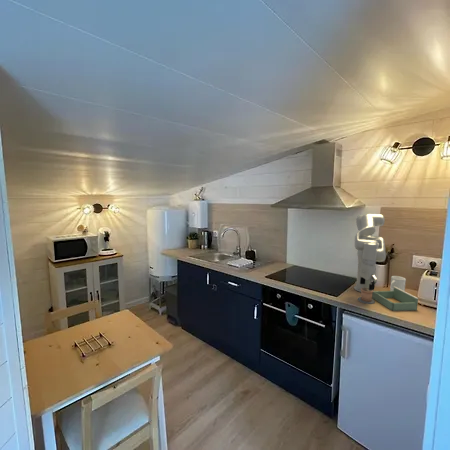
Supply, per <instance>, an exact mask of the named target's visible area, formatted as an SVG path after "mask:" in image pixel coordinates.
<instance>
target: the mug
mask: <svg viewBox="0 0 450 450" xmlns="http://www.w3.org/2000/svg"><path fill="white" fill-rule="evenodd" d="M406 282H407V279H406V277H403V276H399V275H392V276H391V277H390V287H389V288H390V289H389V291H394V287H397V288H399V289H401V290H403V291H405V292H406V290H405V289H406Z"/></svg>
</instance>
